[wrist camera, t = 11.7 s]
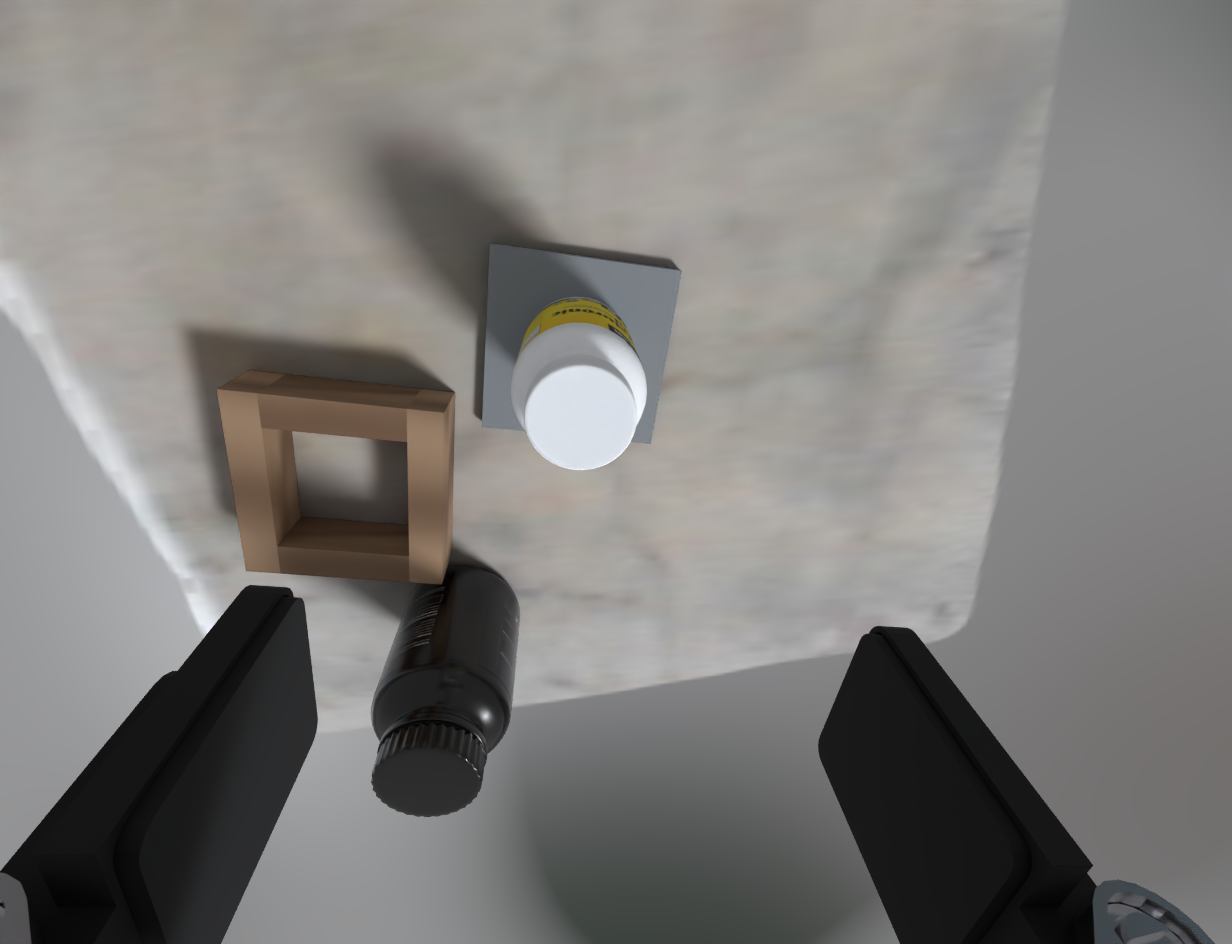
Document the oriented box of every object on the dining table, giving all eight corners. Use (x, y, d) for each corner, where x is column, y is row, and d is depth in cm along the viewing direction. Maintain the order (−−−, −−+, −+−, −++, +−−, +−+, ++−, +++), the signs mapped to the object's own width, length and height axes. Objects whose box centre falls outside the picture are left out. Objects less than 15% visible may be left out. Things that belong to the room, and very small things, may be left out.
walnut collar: (249, 370, 29) (216, 389, 26) (455, 392, 30) (443, 412, 28) (272, 539, 33) (246, 571, 31) (451, 553, 35) (441, 584, 32)
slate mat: (491, 242, 27) (489, 244, 27) (679, 269, 28) (681, 271, 28) (483, 422, 31) (481, 426, 31) (649, 439, 32) (650, 443, 32)
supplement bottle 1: (419, 652, 38) (359, 838, 27) (401, 564, 35) (325, 735, 24) (527, 645, 38) (510, 826, 27) (517, 558, 35) (494, 723, 24)
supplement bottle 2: (651, 327, 29) (687, 391, 20) (599, 418, 31) (610, 512, 22) (553, 272, 27) (545, 315, 19) (504, 371, 29) (476, 452, 21)
